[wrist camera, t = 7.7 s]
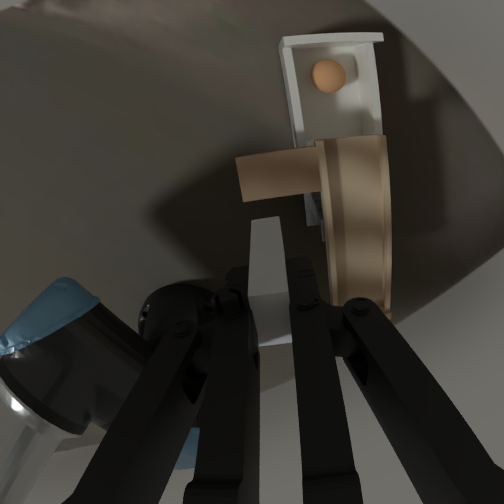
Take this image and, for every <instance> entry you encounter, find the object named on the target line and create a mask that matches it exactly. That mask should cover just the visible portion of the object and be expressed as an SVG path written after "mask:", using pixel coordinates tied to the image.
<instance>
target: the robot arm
mask: <svg viewBox="0 0 504 504" xmlns="http://www.w3.org/2000/svg"><path fill="white" fill-rule="evenodd" d="M258 342H259V346H266V345H275V344H283V343H291V342H292V345H293V356H294V368H295V379H296V391H297V404H298V417H299V431H300V445H301V460H302V487H303V504H363V498H362V492H361V485H360V479H359V475H358V473H357V471H356V469H355V465H354V459H353V453H352V447H351V440H350V435H349V429H348V423H347V417H346V412H345V406H344V401H343V395H342V390H341V386H340V380H339V375H338V370H337V365H336V360H335V356H339V357H343V360H344V362H345V364H346V366H347V367H348V369H349V371H350V372H351V374H352V376H353V378H354V379H355V381H356V383H357V385H358V386H359V388H360V390H361V392H362V393H363V395H364V397H365V399H366V400H367V402H368V404H369V406H370V407H371V409H372V411H373V413H374V415H375V416H376V418H377V420H378V422H379V424H380V425H381V427H382V429H383V431H384V433H385V434H386V436H387V438H388V440H389V442H390V443H391V445H392V447H393V449H394V451H395V452H396V454H397V456H398V458H399V460H400V462H401V463H402V465H403V467H404V469H405V471H406V473H407V475H408V476H409V478H410V480H411V482H412V484H413V486H414V487H415V489H416V491H417V493H418V495H419V497H420V499H421V500H422V502H423V504H504V470H503V469H501V468H500V467H499V466H497V465H496V464H494V462H493V461H492V459H491V458H490V456H489V455H488V453H487V452H486V450H485V449H484V447H483V446H482V444H481V443H480V441H479V440H478V439H477V437H476V435H475V434H474V432H473V431H472V429H471V428H470V427H469V425H468V424H467V422H466V421H465V419H464V418H463V417H462V415H461V414H460V412H459V411H458V410H457V408H456V407H455V406H454V404H453V403H452V401H451V400H450V398H449V397H448V396H447V394H446V393H445V392H444V391H443V389H442V388H441V386H440V385H439V384H438V382H437V381H436V380H435V378H434V377H433V375H432V374H431V373H430V372H429V370H428V369H427V368H426V366H425V365H424V364H423V363H422V361H421V360H420V358H419V357H418V356H417V355H416V353H415V352H414V351H413V350H412V348H411V347H410V346H409V344H408V343H407V342H406V340H405V339H404V338H403V337H402V335H401V334H400V333H399V332H398V330H397V329H396V328H395V327H394V325H393V324H392V323H391V322H390V320H389V319H388V318H387V317H386V315H385V314H384V313H383V312H382V311H381V309H380V308H379V307H378V306H377V304H376V303H375V302H373V301H372V300H371V299H368V298H364V297H357V298H352V299H350V300H348V301H347V302H346V303H345V304H344V306H334V305H330V304H327V303H326V302H324V301H323V300H322V299H321V298H320V295H319V291H318V287H317V282H316V278H315V274H314V270H313V266H312V262H311V261H310V260H309V259H307V258H306V257H302V258H295V259H288V260H285V253H284V246H283V239H282V232H281V226H280V219H279V216H276V217H269V218H262V219H256V220H252V221H251V241H250V261H249V266H242V267H235V268H231V270H230V271H229V272H228V274H227V276H226V283H225V288H223V289H221V290H219V291H217V292H216V293H215V294H213V293H211V292H209V291H207V290H205V289H202V288H199V287H194V286H189V285H172V286H167V287H163V288H161V289H158V290H157V291H155V292H153V293H152V294H151V295H150V296H149V297H148V298H147V299H146V301H145V302H144V304H143V307H142V309H141V311H140V314H139V319H138V334H137V333H136V332H135V331H134V330H132V329H131V328H130V327H129V326H128V325H126V324H125V323H124V322H123V321H122V320H120V319H119V318H118V317H117V316H116V315H115V314H113V313H112V312H111V311H110V310H109V309H108V308H106V307H105V306H104V305H103V304H102V303H101V302H100V299H99V298H98V297H96V296H93V295H92V294H91V293H90V292H88V291H87V290H86V289H85V288H84V287H82V286H81V285H80V284H79V283H78V282H77V281H75V280H74V279H72V278H68V277H62V278H58V279H57V280H55V281H54V282H53V283H52V284H50V285H49V286H48V287H47V288H46V289H45V290H44V291H43V292H42V293H41V294H40V295H39V296H38V297H37V298H36V299H35V300H34V301H33V302H32V303H31V304H30V305H29V306H28V307H27V308H26V309H25V310H24V311H23V312H22V313H21V314H20V315H19V316H18V317H17V318H16V319H15V321H14V322H13V323H12V324H11V325H10V326H9V327H8V328H7V329H6V330H5V331H4V332H3V334H2V335H1V336H0V355H3V356H2V357H1V359H0V504H23V503H24V501H25V499H26V498H27V496H28V494H29V492H30V491H31V489H32V488H33V486H34V484H35V482H36V481H37V479H38V477H39V476H40V474H41V472H42V471H43V469H44V467H45V466H46V464H47V463H48V461H49V459H50V457H51V456H52V454H53V453H54V451H55V450H56V448H57V446H58V445H59V443H60V442H61V440H62V439H65V438H78V437H81V436H82V434H83V433H84V431H85V430H86V428H87V427H88V425H89V424H90V423H91V422H92V423H94V424H96V425H98V426H99V427H101V428H103V429H104V430H106V431H107V433H106V434H105V436H104V438H103V440H102V441H101V443H100V445H99V447H98V449H97V450H96V452H95V454H94V456H93V458H92V459H91V461H90V463H89V465H88V467H87V468H86V470H85V472H84V474H83V476H82V477H81V479H80V481H79V483H78V485H77V487H76V489H75V491H74V492H73V494H72V495H71V496H70V497H69V498H67V499H66V500H65V501H64V502H63V503H62V504H158V503H159V501H160V499H161V496H162V494H163V492H164V490H165V487H166V485H167V483H168V480H169V478H170V476H171V473H172V471H173V470H182V469H190V468H195V471H194V478H193V480H192V481H191V482H189V483H188V484H187V486H186V488H185V492H184V497H183V504H259V456H260V455H259V454H260V453H259V452H260V441H259V440H260V354H259V350H258Z"/></svg>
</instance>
